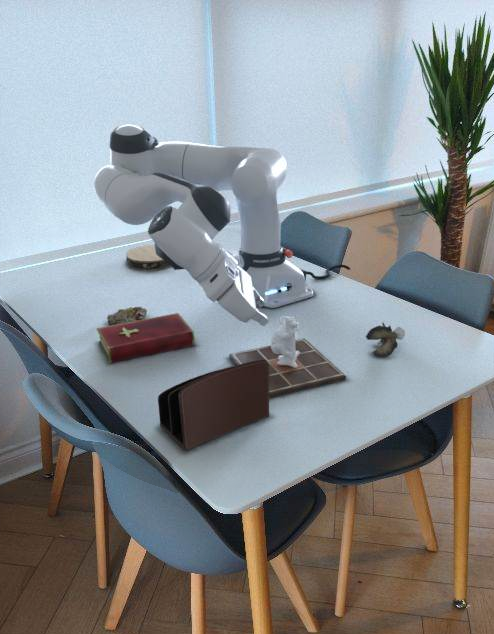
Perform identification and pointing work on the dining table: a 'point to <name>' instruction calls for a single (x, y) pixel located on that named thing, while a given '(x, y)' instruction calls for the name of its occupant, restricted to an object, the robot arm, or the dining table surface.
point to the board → (290, 379)
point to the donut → (234, 255)
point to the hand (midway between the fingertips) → (264, 313)
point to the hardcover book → (145, 337)
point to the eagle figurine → (385, 339)
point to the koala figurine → (286, 342)
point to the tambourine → (145, 258)
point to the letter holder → (215, 403)
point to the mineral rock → (127, 315)
